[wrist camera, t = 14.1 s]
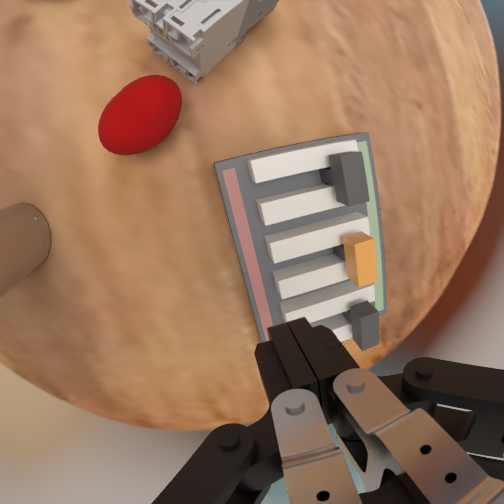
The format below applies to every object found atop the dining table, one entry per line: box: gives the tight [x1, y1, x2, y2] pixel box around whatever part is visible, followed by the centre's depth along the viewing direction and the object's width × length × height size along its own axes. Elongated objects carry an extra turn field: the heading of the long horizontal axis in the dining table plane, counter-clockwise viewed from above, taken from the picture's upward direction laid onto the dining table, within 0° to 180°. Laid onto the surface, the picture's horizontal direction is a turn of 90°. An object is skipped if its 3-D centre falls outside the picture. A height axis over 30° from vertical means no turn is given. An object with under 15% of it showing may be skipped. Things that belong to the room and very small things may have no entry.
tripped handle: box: [334, 231, 378, 287], centre depth 35 cm, size 2×5×7 cm, turn 13°
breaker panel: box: [214, 133, 387, 351], centre depth 36 cm, size 19×26×10 cm
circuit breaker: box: [129, 0, 279, 85], centre depth 23 cm, size 8×14×15 cm, turn 137°
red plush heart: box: [98, 75, 182, 155], centre depth 28 cm, size 9×7×10 cm
